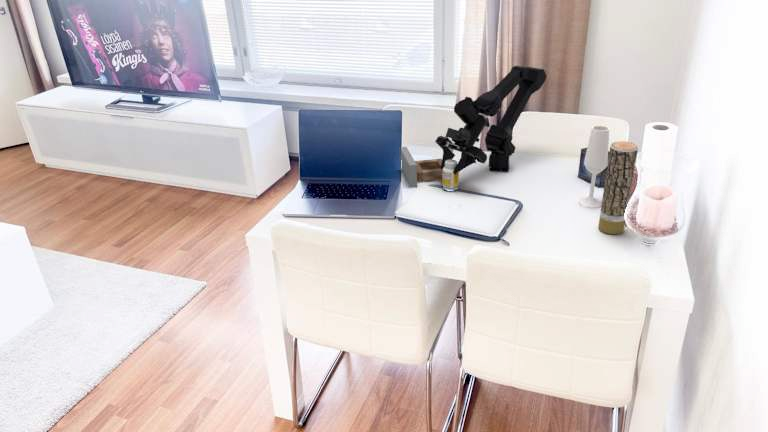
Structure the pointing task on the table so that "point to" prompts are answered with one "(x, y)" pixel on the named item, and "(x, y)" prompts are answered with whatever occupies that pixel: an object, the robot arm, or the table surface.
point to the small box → (586, 175)
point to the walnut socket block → (429, 170)
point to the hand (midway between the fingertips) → (447, 171)
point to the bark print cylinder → (617, 186)
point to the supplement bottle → (450, 174)
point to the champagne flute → (596, 160)
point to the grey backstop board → (409, 167)
